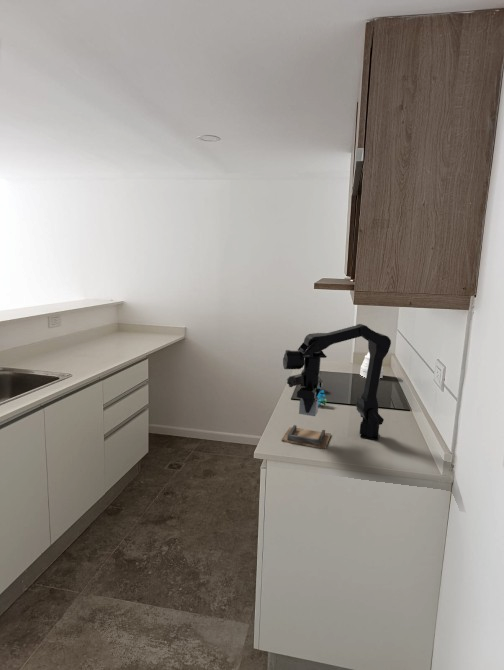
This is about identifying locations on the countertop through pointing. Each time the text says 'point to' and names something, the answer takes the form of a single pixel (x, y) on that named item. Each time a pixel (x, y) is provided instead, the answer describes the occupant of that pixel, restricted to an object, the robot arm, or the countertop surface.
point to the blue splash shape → (321, 398)
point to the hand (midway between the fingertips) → (308, 410)
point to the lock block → (312, 411)
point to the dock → (307, 437)
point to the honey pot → (365, 366)
